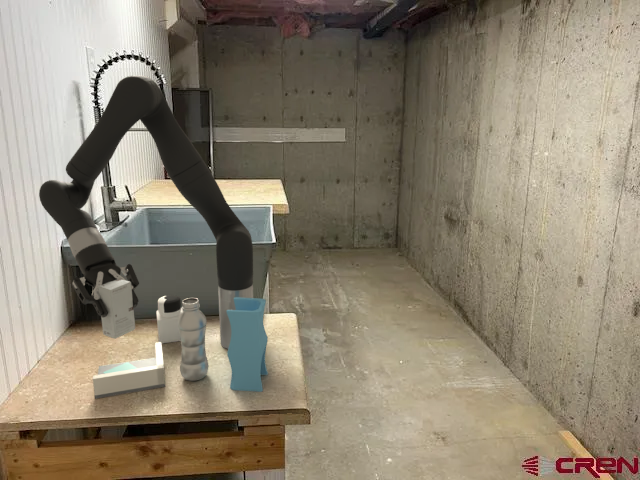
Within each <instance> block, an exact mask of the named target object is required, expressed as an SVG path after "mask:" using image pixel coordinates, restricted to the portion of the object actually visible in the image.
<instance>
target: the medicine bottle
mask: <svg viewBox="0 0 640 480" xmlns="http://www.w3.org/2000/svg"><path fill="white" fill-rule="evenodd" d="M181 301H182V300H181V298H180V296H179V295H174V294H167V295H164V296H161V297H159V298H158V300H157V310H156V311H155V313H156V325H157V335H158V342H161V344H163V345H164V344H168V343H169V344H170V343H174V342H181V338H180V333H179V329H178V319H179V317H180V315H181V314H182V312H183V311H184V310H183V309H182V306H181V305H182V302H181Z"/></svg>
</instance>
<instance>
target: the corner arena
mask: <svg viewBox="0 0 640 480" xmlns="http://www.w3.org/2000/svg"><path fill="white" fill-rule="evenodd" d="M154 345H155V357H150V358H143V359H136V360H129V361H123V362H118V363H111V364H105V365H103V364H102V365H99V366H98V369H97V370H98V371H97V374H94V375H92V385H93V394H94V399H101V398H107V397H113V396H118V395H125V394H129V393H135V392H141V391H148V390H152V389H154V390H155V389H158V388H160V389H161V388H165V387H166V379H165V367H164V366H165V365H164V357H163V356H164V355H163V346H162V344H161V342H159V341H158V342H154Z"/></svg>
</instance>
